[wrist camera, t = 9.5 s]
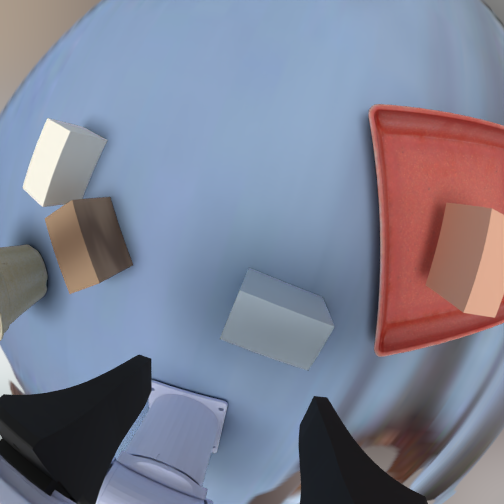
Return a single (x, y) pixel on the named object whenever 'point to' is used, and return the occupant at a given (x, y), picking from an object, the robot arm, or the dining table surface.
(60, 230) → the walnut brick
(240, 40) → the dining table surface
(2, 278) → the flower pot
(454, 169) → the plant saucer
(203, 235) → the dining table surface
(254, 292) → the slate-blue brick
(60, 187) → the cream brick
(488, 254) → the terracotta brick
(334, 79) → the dining table surface
